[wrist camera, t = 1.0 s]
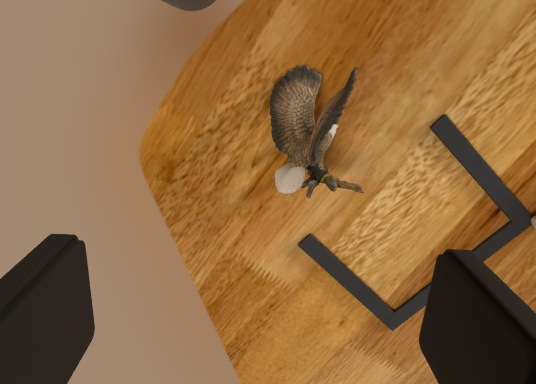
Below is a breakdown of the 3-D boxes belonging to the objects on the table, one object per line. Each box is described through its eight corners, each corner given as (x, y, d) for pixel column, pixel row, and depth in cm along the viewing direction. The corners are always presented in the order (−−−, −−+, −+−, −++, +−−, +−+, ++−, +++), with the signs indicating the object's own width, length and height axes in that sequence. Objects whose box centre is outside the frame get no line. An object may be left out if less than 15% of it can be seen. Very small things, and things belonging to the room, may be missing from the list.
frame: (297, 244, 36) (298, 245, 36) (443, 114, 32) (445, 114, 32) (391, 328, 40) (392, 330, 39) (533, 220, 36) (536, 221, 35)
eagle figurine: (380, 167, 33) (376, 56, 28) (350, 216, 28) (338, 90, 23) (297, 159, 36) (282, 60, 32) (257, 201, 32) (232, 91, 27)
